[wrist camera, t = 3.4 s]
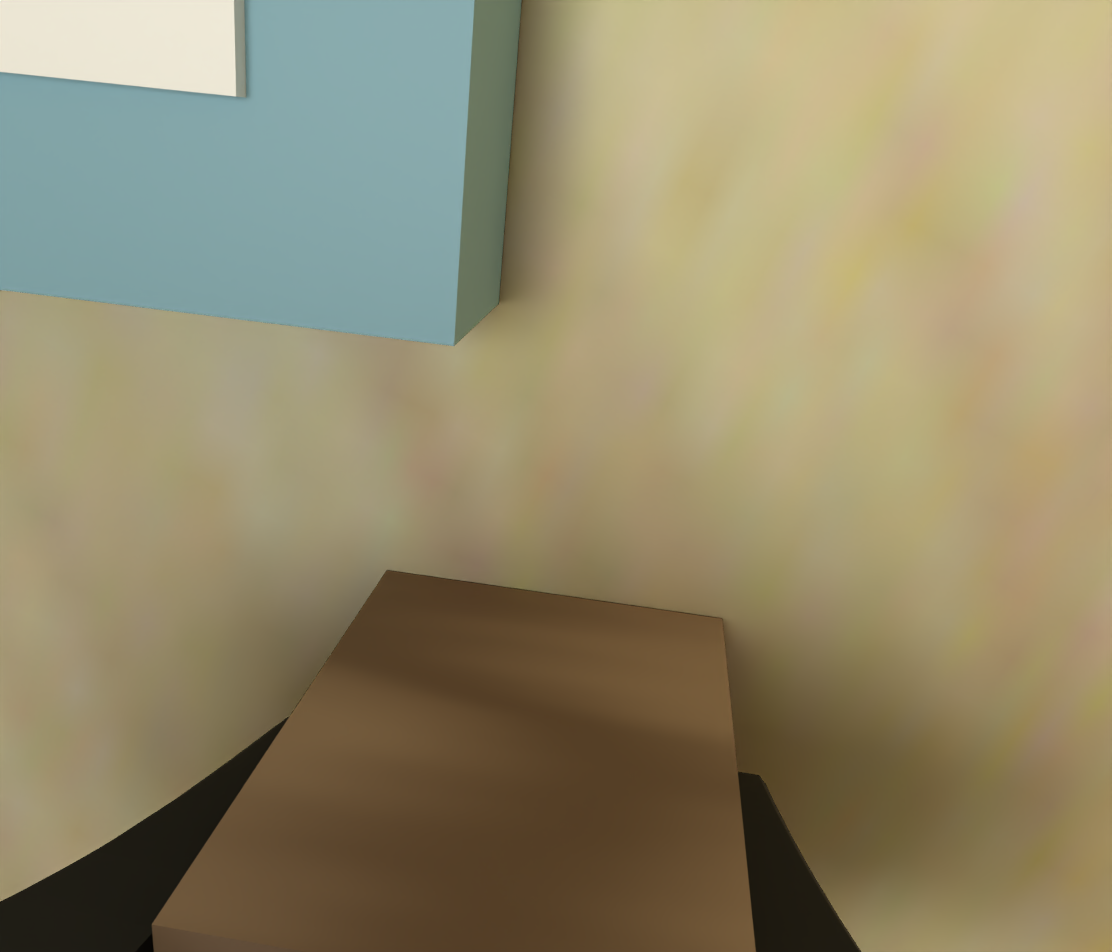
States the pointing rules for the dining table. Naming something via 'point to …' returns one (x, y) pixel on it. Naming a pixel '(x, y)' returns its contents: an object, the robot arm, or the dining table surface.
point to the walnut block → (488, 789)
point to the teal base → (261, 158)
